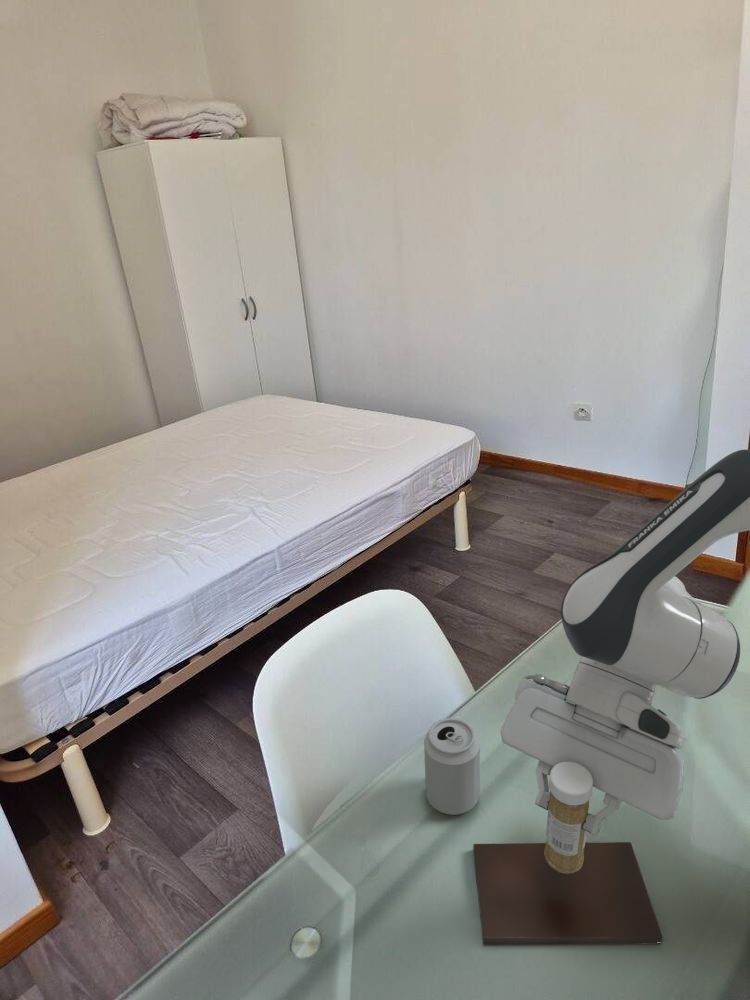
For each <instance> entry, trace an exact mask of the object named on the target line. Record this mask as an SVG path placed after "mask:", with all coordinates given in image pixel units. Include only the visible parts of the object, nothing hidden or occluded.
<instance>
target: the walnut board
mask: <svg viewBox="0 0 750 1000" xmlns="http://www.w3.org/2000/svg"><path fill="white" fill-rule="evenodd" d="M472 845H473V848H472V849H473V861H474V869H475V878H476V887H477V897H478V898H477V899H478V907H479V916H480V925H481V936H482V944H483V945H627V944H628V945H642V944H641V943H657V942H663V938H664V937H663V934H662V930H661V929H660V925H659V922H658V920H657V919H658V918H657V916H656V914H655V910H654V908H653V904H652V902H651V899H650V895H649V892H648V890H647V887H646V884H645V880H644V878H643V875H642V872H641V869H640V866H639V863H638V860H637V856H636V854H635V850H634V848H633V845H632V842H630V841H619V842H618V841H616V842H615V841H613V842H612V841H611V842H609V841H608V842H585V846H584V854H583V855H584V862H583V865H582V867H581V868H580V870H578V871H577V872H574V873H571V874H565V873H561V872H558V871H556V870H554V869H553V868H552V867H551V866H550V865H549V864H548V863H547V861H546V859H545V855H544V849H545V846H546V842H531V843H530V842H529V843H528V842H527V843H526V842H524V843H518V842H517V843H516V842H514V843H511V842H510V843H473V844H472ZM638 943H639V944H638Z"/></svg>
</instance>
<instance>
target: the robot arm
mask: <svg viewBox="0 0 750 1000" xmlns="http://www.w3.org/2000/svg"><path fill="white" fill-rule="evenodd" d="M748 531H750V448H749V449H748V448H747V449H739V450H735V451H734V452H731V453H729V454H728V455H725V456H724V457H723V458H721V459H720V460H718V461H717V462H716V463H714V464H713V465H711V467H709V468H708V469H707V470H706V471H704V472H703V473H702V474H700V475H699V477H697V478H695V480H694V481H693V482H691V483H690V484H689V485H688V486H687V487H686V488H684V489H683V490H682V491H681V492H679V494H678V495H676V496H675V497H674V498H673V499H672V500H671V501H670V502H668V503H667V504H666V505H665V506H664V507H662V509H661V510H660V511H658V512H657V513H656V514H655V515H654V516H653V517H652V518H650V520H649V521H647V522H646V523H645V524H644V525H643V526H642V527H640V529H638V530H637V531H636V532H635V533H634V534H633V535H632V536H630V538H628V539H627V540H625V542H623V543H622V545H620V546H619V547H618V548H617V549H615V550H614V551H613V552H612V553H610V554H609V555H608V556H607V557H604V558H602V559H601V560H600V561H598V562H597V563H595V564H593V565H592V566H590V567H589V568H587V569H586V570H584V571H583V572H582V573H581V574H579V575H578V576H577V577H576V578H575V579H574V580H573V581H572V583H571V584H570V585H569V587H568V589H567V590H566V592H565V594H564V597H563V599H562V601H561V606H560V618H561V624H562V627H563V630H564V632H565V636H566V638H567V640H568V642H569V644H570V645H571V647H572V650H574V652H575V653H576V654H577V655H578V656H580V658H579V660H578V663H577V665H576V668H575V670H574V673H573V676H572V678H571V682H570V685H567V684H565V683H562V682H559V681H556V680H553V679H550V678H548V677H546V676H545V675H542V674H539V673H535V674H534V675H533V674H530V675H526V676H524V677H523V678H521V680H520V681H519V683H518V685H517V688H516V691H515V692H514V693H515V694H514V702H513V704H512V706H511V708H510V709H509V711H508V713H507V715H506V717H505V719H504V721H503V723H502V726H501V728H500V732H499V733H500V737H501V742H502V743H503V744H505V745H506V746H509V747H511V748H513V749H514V750H517V751H519V752H521V753H523V754H525V755H528V756H529V757H532V758H534V759H535V760H537V761H538V763H537V766H536V768H535V773H536V779H537V785H538V789H539V790H538V793H537V796H536V798H535V802H534V805H536V806H538V807H540V808H541V809H543V810H546V811H548V805H549V800H550V788H549V779H548V776H550V772H551V770H552V768H553V767H554V766H555V765H556V764H558V763H561V762H575V763H578V764H580V765H582V766H583V767H585V768H586V769H587V770H588V771H589V772H590V774H591V776H592V779H593V788H594V789H597V790H599V791H602V792H603V793H605V794H604V798H603V800H602V803H603V804H604V805H605V808H604V809H602V810H601V811H600V812H598V813H597V814H593V813H591V812H590V813H589V812H588V813H587V816H586V818H585V820H586V822H585V823H584V824H583V830H585V831H587V832H588V833H589V834H591V835H593V836H595V837H597V836H598V835H599V833H600V831H601V828H602V825H603V821H605V820H606V819H608V818H609V817H610V816H612V815H613V814H615V813H616V812H617V811H618V810H619V809H620V807H621V803H622V802H623V803H625V804H627V805H630V806H632V807H634V808H636V809H638V810H640V811H642V812H645V813H646V814H649V815H650V816H653V817H655V818H656V819H659V820H661V821H664V822H665V821H670V820H672V819H674V818H675V817H676V816H677V814H678V811H679V808H680V804H681V800H682V796H683V792H684V791H683V790H684V785H685V777H686V763H685V759H684V757H683V755H682V754H681V753H680V751H678V750H679V749H683V748H684V747H685V745H686V744H687V743H686V742H687V740H688V735H687V732H686V731H685V730H684V729H683V727H681V726H679V724H677V723H675V722H674V720H672V719H671V718H669V717H668V715H667V714H666V713H665V711H662V710H661V709H659V708H657V707H655V706H654V705H653V700H654V697H655V693H656V687H657V686H659V687H661V688H663V689H665V690H668V691H669V692H672V693H674V694H677V695H679V696H682V697H689V698H693V699H697V700H702V699H706V698H709V697H711V696H714V695H716V694H717V693H719V692H721V691H722V690H724V689H725V687H727V685H729V683H730V682H731V681H732V679H733V677H734V675H735V674H736V671H737V669H738V666H739V662H740V658H741V641H740V638H739V637H740V636H739V634H738V631H737V629H736V628H735V626H734V624H733V623H732V622H731V621H730V620H728V619H726V618H725V617H724V616H722V614H719V613H718V612H717V611H715V610H713V609H712V608H710V607H708V606H707V605H705V604H703V603H701V602H699V601H698V600H697V599H696V598H694V597H693V596H692V595H691V594H690V593H689V592H688V591H687V589H686V586H685V584H684V583H683V581H681V579H680V578H678V577H677V576H676V575H678V574H679V573H680V572H681V571H683V570H684V569H685V568H686V567H687V566H688V565H690V564H691V563H692V562H693V561H694V560H696V559H697V558H698V557H699V556H701V555H702V554H703V553H704V552H706V550H708V549H709V548H710V547H712V545H714V544H715V543H716V542H718V541H720V540H722V539H724V538H726V537H729V536H732V535H735V534H738V533H742V532H748ZM530 679H531V680H530ZM677 749H678V750H677Z"/></svg>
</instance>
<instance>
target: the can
mask: <svg viewBox="0 0 750 1000" xmlns="http://www.w3.org/2000/svg"><path fill="white" fill-rule="evenodd" d="M423 750H424V752H423V753H424V775H425V779H424V780H425V796H426V799H427V801H428V804H430V806H432V807H433V809H435V810H437V811H439V812H440V813H442V814H445V815H446V814H447V815H451V816H453V815H462V814H465V813H468V812H470V811H471V810H472V809H473V808H474V807H475V806H476V805H477V803H478V802H479V798H480V784H481V783H480V779H481V778H480V777H481V775H480V773H481V771H480V770H481V769H480V767H481V764H480V763H481V743H480V738H479V736H478V734H477V733H476V731H475V729H473V727H472V725H471V724H469V723H468V722H467V721H465V720H463V719H462V718H455V717H445V718H442V719H438V720H437V721H435V722H433V724H432V725H431V726H430V727H429V730H428V731H427V733H426V734H425V737H424V739H423Z"/></svg>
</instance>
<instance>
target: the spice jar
mask: <svg viewBox="0 0 750 1000" xmlns="http://www.w3.org/2000/svg"><path fill="white" fill-rule="evenodd" d="M548 786H549V792H550V800H549V805H548V810H547V819H546V830H545V831H546V832H545V836H546V839H545V843H546V846H545V849H544V855H545V859H546V861H547V863H548V864H549V865H550V866H551V867H552V868H553V869H554V870H556V871H558V872H561V873H565V874H571V873H574V872H577V871H578V870H580V868H581V867H582V865H583V862H584V855H583V854H584V846H585V843H587V841H586V840H587V834H588V833H587V831H585V830H583V824H584V823H585V822H586V820H585V818H586V816H587V813H589V808H590V801H591V798H592V796H593V789H594V787H593V779H592V776H591V774H590V772H589V771H588V770H587V769H586V768H585V767H583V766H582V765H580V764H578V763H575V762H561V763H558V764H556V765H555V766H554V767H553V768H552V770H551V772H550V775H549V779H548Z"/></svg>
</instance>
